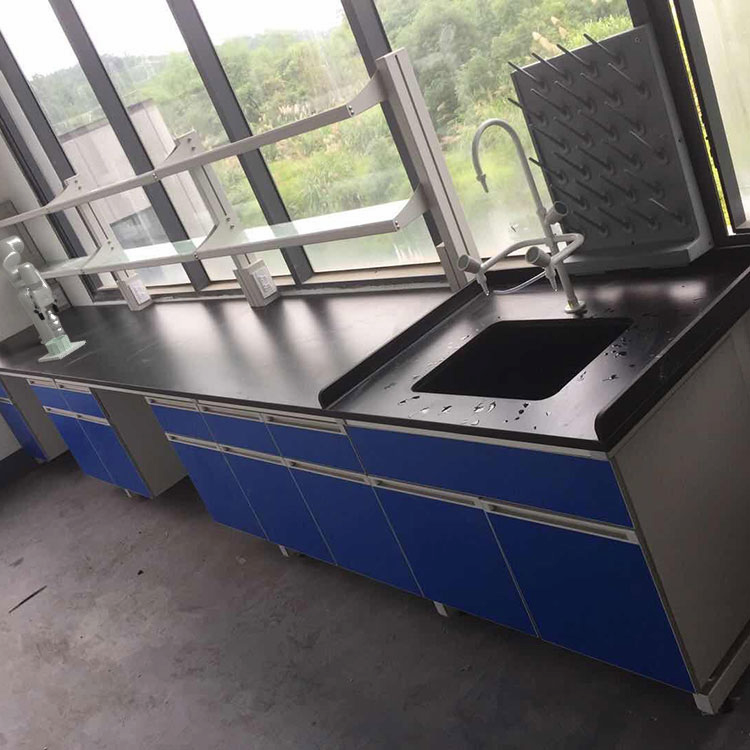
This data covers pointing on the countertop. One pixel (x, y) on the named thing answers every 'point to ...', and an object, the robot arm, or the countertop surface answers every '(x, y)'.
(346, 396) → the countertop surface
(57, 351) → the bottle stand
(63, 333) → the plastic bottle
